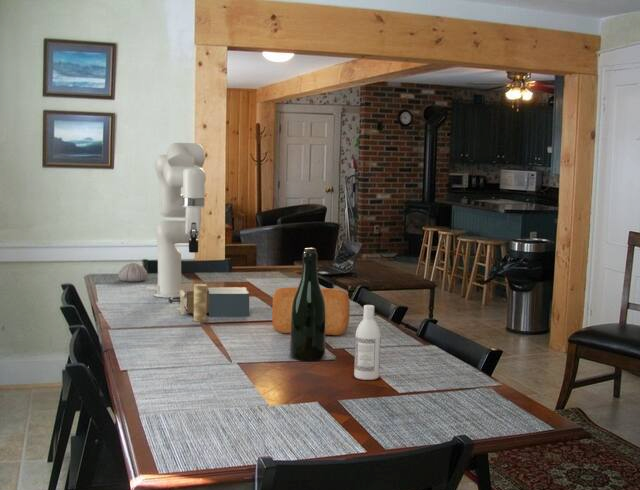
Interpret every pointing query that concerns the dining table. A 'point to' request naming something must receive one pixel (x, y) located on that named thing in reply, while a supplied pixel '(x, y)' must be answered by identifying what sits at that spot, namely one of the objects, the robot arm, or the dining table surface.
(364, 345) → the bath foam
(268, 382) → the dining table surface
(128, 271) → the sea urchin shell
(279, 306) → the bread
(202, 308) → the cylinder
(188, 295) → the drawer
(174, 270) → the robot arm
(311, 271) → the green wine bottle
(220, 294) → the cabinet
